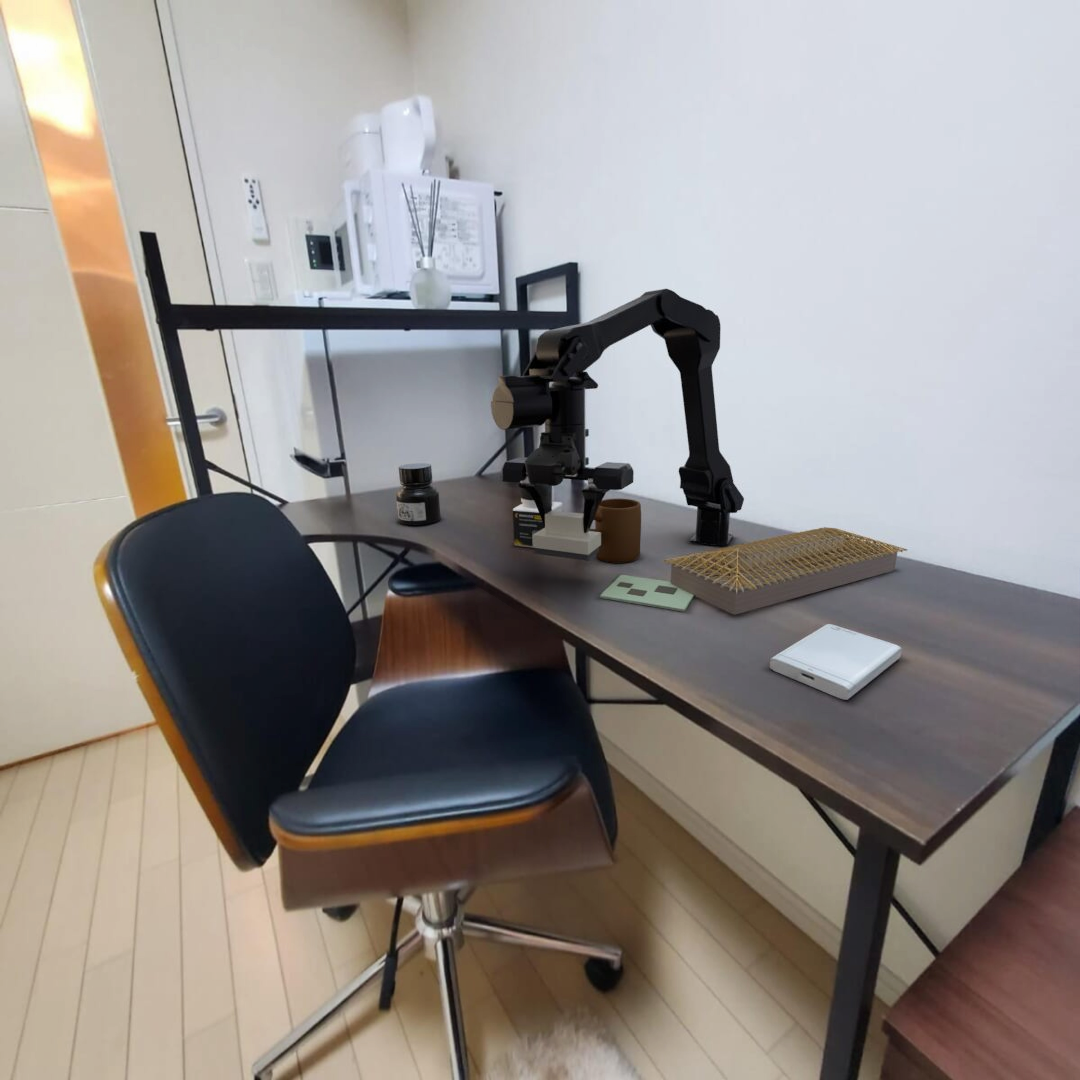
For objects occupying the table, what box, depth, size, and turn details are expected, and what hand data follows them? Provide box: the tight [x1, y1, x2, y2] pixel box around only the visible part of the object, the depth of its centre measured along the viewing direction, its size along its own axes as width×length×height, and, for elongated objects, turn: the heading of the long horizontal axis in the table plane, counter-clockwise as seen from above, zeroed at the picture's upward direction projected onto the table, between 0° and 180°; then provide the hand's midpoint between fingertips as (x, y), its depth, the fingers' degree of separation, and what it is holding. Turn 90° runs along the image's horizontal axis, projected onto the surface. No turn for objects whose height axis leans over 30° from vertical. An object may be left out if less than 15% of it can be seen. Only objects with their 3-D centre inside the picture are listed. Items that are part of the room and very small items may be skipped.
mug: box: [579, 498, 642, 564], centre depth 96 cm, size 12×8×9 cm, turn 117°
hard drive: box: [769, 623, 902, 701], centre depth 62 cm, size 2×8×12 cm
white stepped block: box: [532, 510, 601, 562], centre depth 85 cm, size 5×9×6 cm, turn 63°
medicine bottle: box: [512, 486, 563, 549], centre depth 105 cm, size 7×7×12 cm
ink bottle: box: [395, 462, 442, 526], centre depth 122 cm, size 10×9×12 cm
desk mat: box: [599, 574, 696, 613], centre depth 82 cm, size 9×12×1 cm
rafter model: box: [662, 526, 908, 615], centre depth 85 cm, size 35×14×6 cm, turn 117°
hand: (566, 530), depth 85 cm, fingers closed on white stepped block, 6 cm apart
